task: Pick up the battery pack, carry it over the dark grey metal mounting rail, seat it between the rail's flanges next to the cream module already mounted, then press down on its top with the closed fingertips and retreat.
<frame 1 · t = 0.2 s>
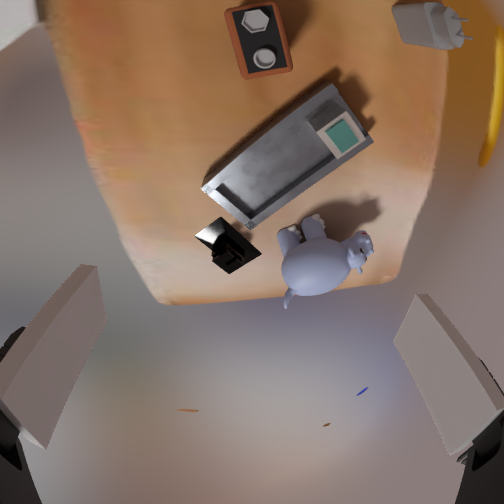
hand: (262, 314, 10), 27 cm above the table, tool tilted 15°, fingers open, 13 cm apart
power adapter: (406, 23, 20), on the table
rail: (284, 153, 33), on the table
hippopotamus toy: (318, 240, 44), on the table
battery: (256, 41, 24), on the table
black angular piece: (229, 242, 44), on the table
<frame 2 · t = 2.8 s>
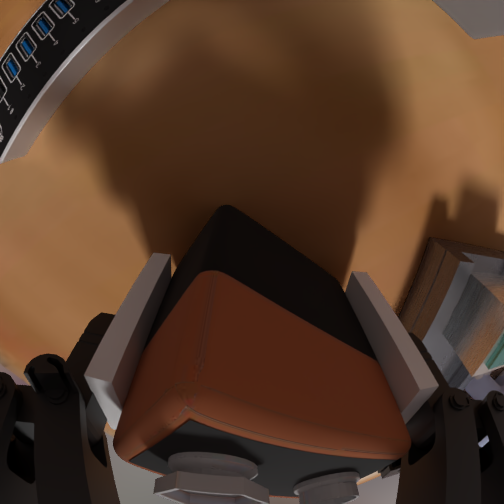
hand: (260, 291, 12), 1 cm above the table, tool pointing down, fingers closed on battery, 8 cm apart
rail: (418, 367, 17), on the table
multiport hub: (70, 51, 8), on the table
hippopotamus toy: (486, 378, 20), on the table
battery: (258, 274, 13), on the table, touching gripper
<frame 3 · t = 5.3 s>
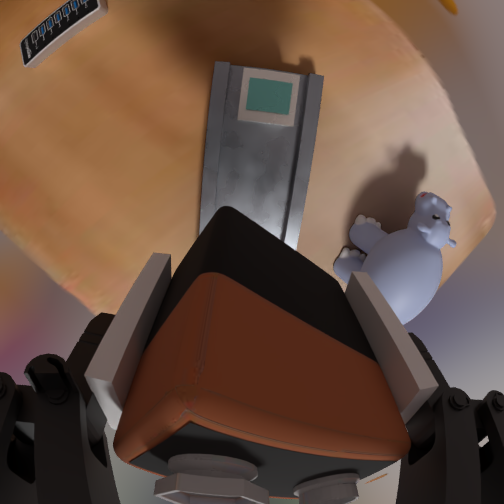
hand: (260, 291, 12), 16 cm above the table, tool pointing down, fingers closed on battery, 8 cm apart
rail: (254, 175, 25), on the table
multiport hub: (66, 28, 17), on the table
hippopotamus toy: (386, 244, 29), on the table
battery: (258, 275, 13), point 15 cm above the table, touching gripper
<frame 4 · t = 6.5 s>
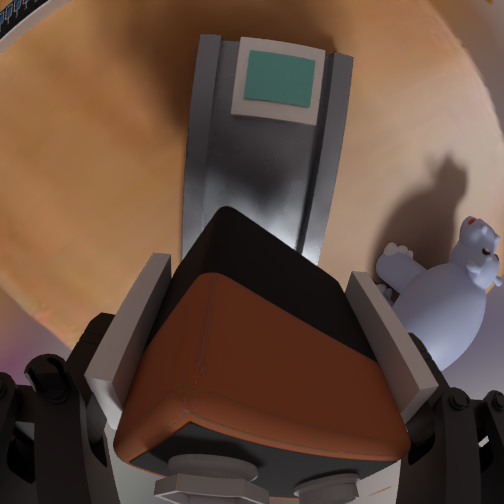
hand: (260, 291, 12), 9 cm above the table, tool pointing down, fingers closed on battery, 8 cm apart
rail: (256, 192, 19), on the table
multiport hub: (28, 17, 11), on the table
hippopotamus toy: (416, 275, 23), on the table
battery: (258, 275, 13), point 7 cm above the table, touching gripper
when the fingers open (5 cm above the table, at t = 7.7 s): battery stays where it is, resting on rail.
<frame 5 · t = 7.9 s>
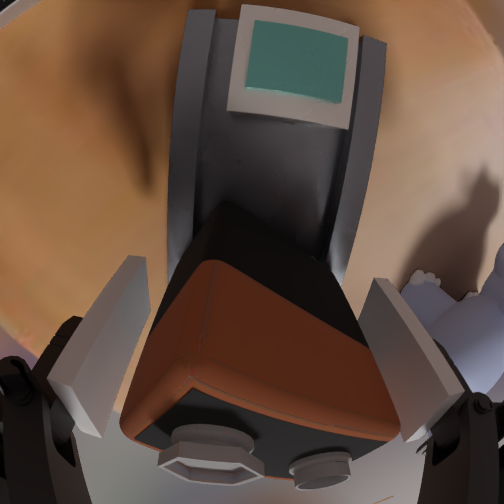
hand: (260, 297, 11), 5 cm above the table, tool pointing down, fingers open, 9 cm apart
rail: (261, 212, 15), on the table
multiport hub: (2, 14, 7), on the table
hippopotamus toy: (441, 302, 19), on the table
battery: (257, 267, 14), point 3 cm above the table, touching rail
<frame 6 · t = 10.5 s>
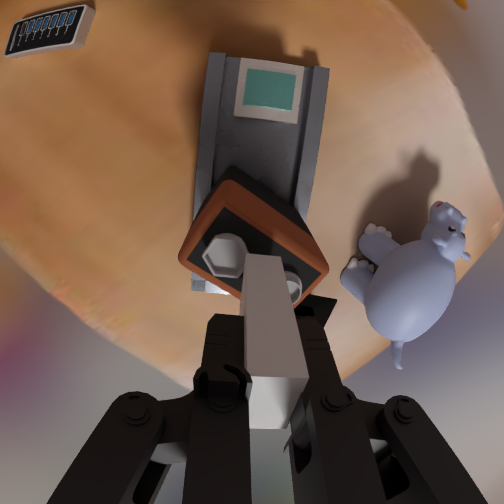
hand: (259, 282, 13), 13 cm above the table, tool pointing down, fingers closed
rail: (253, 178, 23), on the table
multiport hub: (52, 34, 15), on the table
hippopotamus toy: (396, 254, 27), on the table
battery: (250, 208, 22), point 2 cm above the table, touching gripper, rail
black angular piece: (288, 308, 30), on the table
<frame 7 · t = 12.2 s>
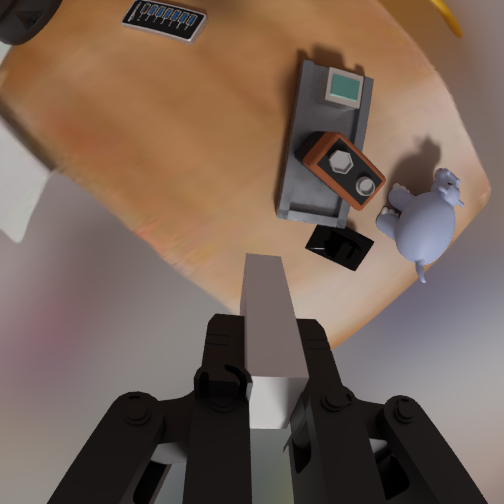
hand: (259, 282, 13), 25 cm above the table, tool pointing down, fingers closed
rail: (322, 143, 33), on the table
multiport hub: (166, 23, 26), on the table
hippopotamus toy: (412, 208, 37), on the table
battery: (324, 160, 31), point 3 cm above the table, touching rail
black angular piece: (338, 242, 40), on the table
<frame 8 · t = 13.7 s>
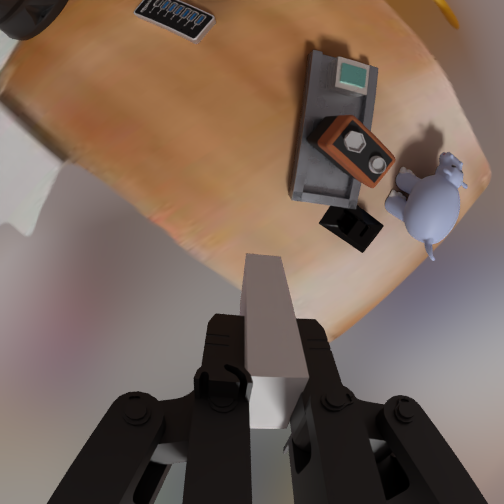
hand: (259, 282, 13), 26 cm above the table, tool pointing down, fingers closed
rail: (331, 129, 34), on the table
multiport hub: (176, 18, 26), on the table
hippopotamus toy: (419, 191, 38), on the table
battery: (335, 144, 32), point 3 cm above the table, touching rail
black angular piece: (350, 222, 40), on the table
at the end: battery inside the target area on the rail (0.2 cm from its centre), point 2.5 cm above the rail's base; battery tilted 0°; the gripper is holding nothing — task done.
